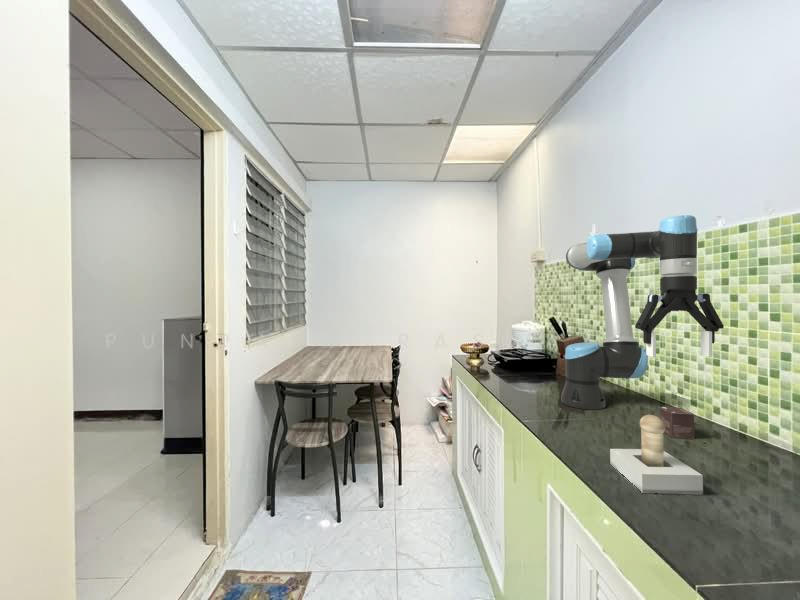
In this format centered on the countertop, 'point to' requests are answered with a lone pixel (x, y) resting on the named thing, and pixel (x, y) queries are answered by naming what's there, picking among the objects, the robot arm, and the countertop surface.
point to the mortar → (657, 473)
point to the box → (677, 422)
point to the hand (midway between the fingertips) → (678, 356)
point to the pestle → (652, 441)
